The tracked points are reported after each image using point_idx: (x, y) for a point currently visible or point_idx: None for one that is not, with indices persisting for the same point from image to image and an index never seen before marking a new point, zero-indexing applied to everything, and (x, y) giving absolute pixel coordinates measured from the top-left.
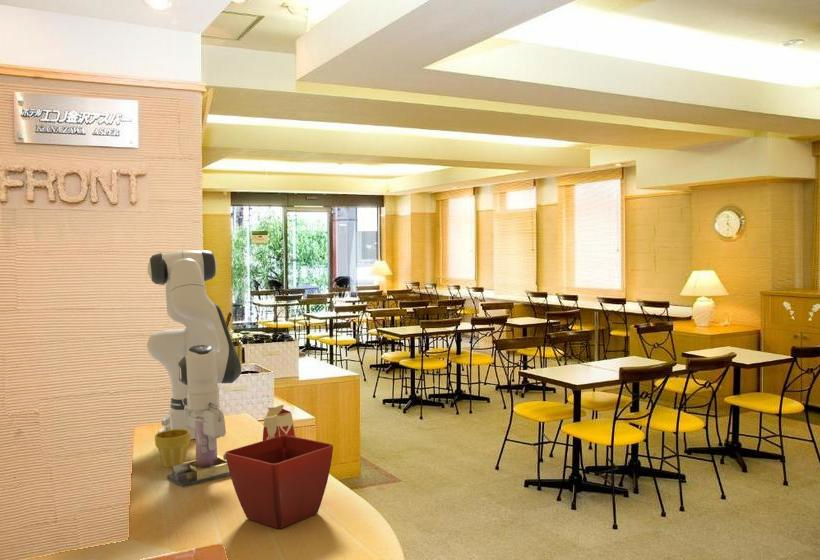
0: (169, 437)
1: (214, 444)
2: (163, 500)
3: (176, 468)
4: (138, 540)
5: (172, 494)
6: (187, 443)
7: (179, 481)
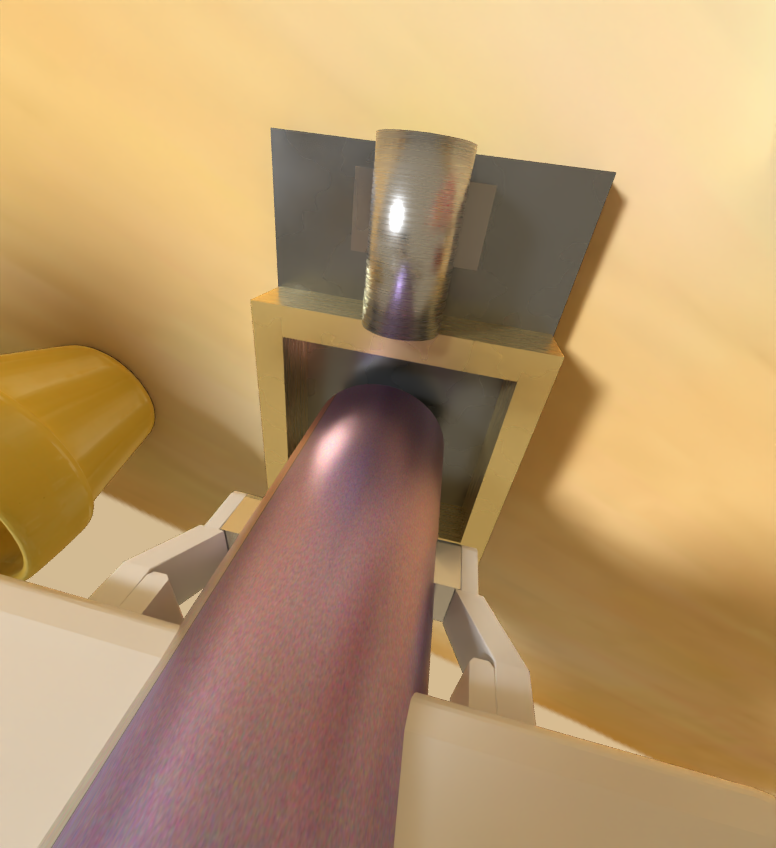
0: None
1: (477, 589)
2: (516, 641)
3: None
4: None
5: (493, 606)
6: (38, 427)
7: None
